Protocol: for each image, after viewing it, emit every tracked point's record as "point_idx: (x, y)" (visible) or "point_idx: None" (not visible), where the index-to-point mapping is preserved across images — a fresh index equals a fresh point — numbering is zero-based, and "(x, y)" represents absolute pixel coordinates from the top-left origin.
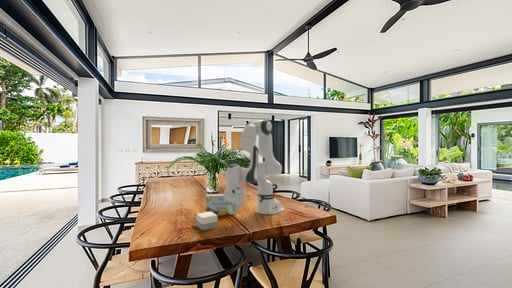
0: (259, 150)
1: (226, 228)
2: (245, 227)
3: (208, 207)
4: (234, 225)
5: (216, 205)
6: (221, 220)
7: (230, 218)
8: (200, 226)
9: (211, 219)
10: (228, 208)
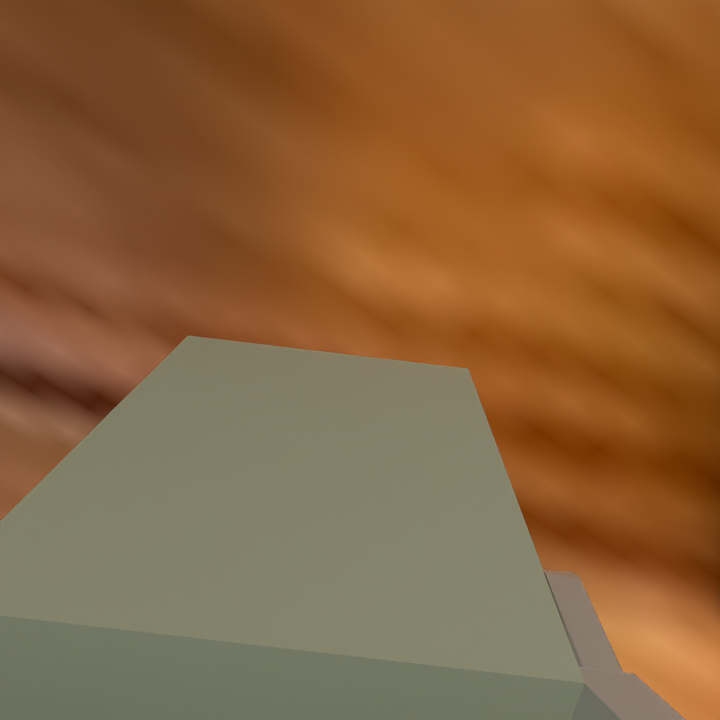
0: None
1: (171, 29)
2: (16, 381)
3: None
4: (236, 293)
5: None
6: (702, 270)
7: (633, 471)
8: None
9: None
10: (481, 455)
